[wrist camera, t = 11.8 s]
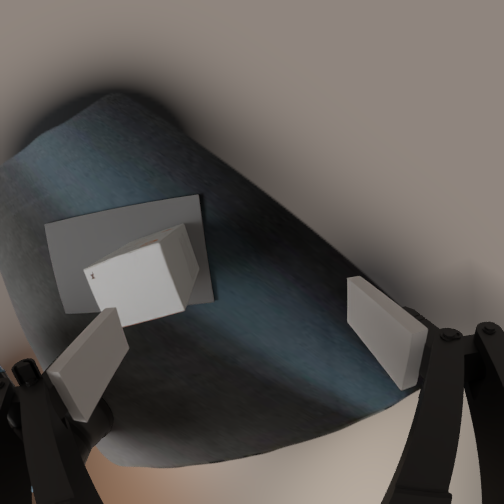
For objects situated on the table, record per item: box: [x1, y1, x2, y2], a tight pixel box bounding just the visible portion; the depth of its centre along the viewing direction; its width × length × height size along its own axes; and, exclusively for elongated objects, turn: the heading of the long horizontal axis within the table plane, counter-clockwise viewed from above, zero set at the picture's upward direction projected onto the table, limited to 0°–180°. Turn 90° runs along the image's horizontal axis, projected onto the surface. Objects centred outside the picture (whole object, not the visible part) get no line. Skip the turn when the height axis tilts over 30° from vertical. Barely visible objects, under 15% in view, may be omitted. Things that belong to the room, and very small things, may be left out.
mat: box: [45, 194, 214, 314], centre depth 35 cm, size 24×14×1 cm, turn 96°
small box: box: [83, 224, 199, 328], centre depth 28 cm, size 8×6×13 cm
